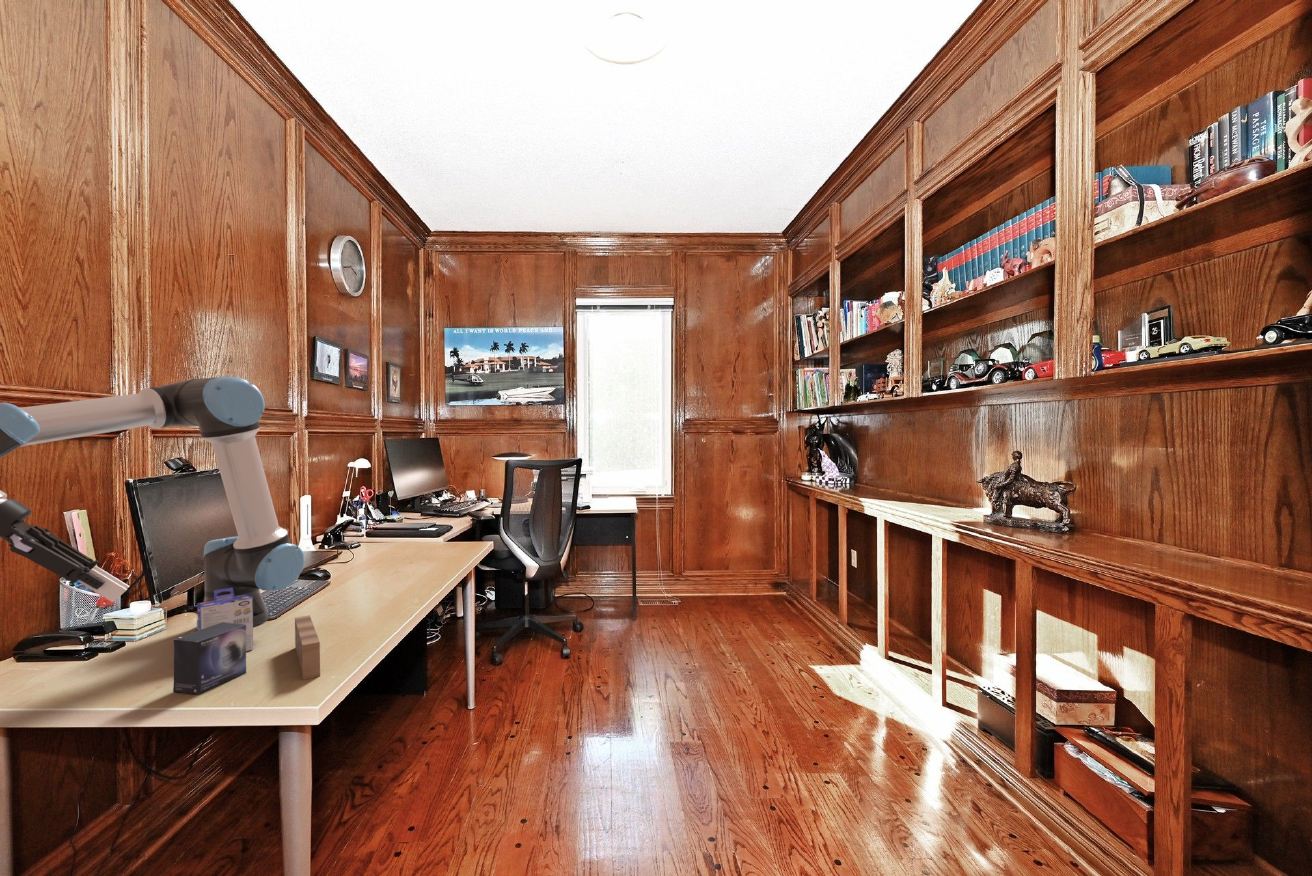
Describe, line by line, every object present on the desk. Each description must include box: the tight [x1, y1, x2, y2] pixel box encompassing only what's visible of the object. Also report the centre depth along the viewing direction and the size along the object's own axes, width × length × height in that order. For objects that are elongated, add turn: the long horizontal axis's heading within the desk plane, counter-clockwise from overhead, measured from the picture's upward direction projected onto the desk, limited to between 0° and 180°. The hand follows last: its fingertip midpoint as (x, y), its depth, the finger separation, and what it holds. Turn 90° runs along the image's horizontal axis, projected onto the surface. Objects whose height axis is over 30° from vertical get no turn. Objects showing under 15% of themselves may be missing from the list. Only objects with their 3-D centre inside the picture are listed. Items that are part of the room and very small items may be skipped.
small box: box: [172, 622, 247, 695], centre depth 116 cm, size 11×6×10 cm, turn 168°
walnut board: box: [294, 615, 321, 681], centre depth 126 cm, size 22×3×7 cm, turn 36°
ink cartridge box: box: [196, 587, 254, 652], centre depth 131 cm, size 10×6×14 cm, turn 137°
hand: (121, 593), depth 108 cm, fingers open, 2 cm apart
